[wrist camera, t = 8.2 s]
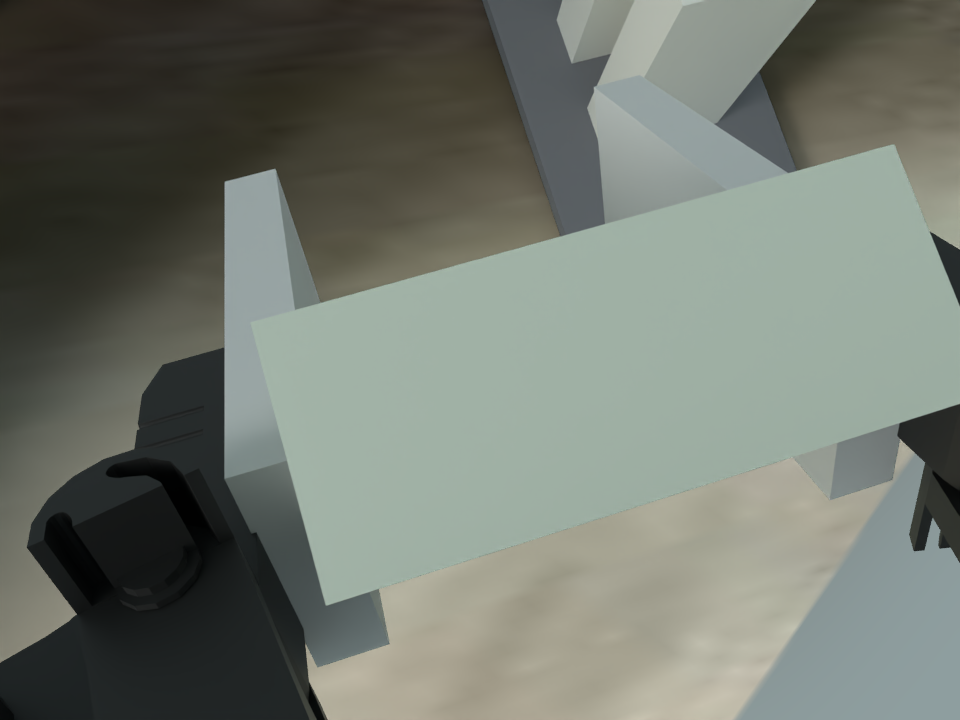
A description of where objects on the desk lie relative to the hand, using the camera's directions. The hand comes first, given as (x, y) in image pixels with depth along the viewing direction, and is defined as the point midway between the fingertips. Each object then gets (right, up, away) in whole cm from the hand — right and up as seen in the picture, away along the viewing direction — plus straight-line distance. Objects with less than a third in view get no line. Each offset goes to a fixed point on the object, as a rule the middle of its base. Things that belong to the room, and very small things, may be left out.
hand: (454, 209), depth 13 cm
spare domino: (+1, -4, +3) cm, 5 cm away
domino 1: (+7, +8, +20) cm, 23 cm away
